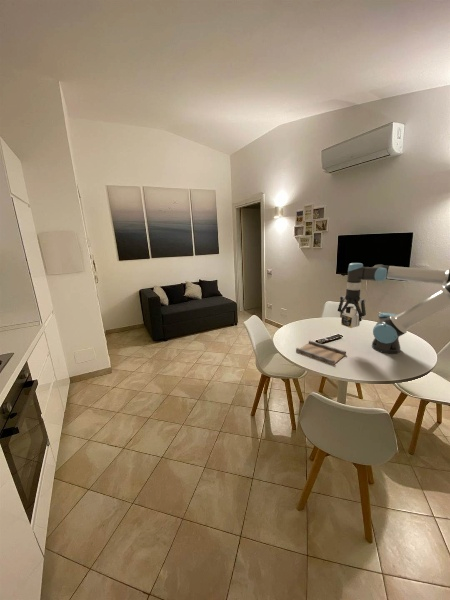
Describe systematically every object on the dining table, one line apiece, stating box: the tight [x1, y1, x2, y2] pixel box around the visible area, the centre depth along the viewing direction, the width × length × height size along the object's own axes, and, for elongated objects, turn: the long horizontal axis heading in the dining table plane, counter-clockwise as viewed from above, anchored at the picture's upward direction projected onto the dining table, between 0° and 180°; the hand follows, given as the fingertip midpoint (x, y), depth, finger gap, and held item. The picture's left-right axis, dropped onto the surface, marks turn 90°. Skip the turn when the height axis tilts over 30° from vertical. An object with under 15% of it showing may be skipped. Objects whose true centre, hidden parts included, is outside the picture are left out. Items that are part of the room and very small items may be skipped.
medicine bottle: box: [340, 305, 359, 329], centre depth 150 cm, size 7×7×12 cm
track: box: [295, 340, 347, 366], centre depth 150 cm, size 24×17×2 cm
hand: (350, 324), depth 152 cm, fingers closed on medicine bottle, 8 cm apart
